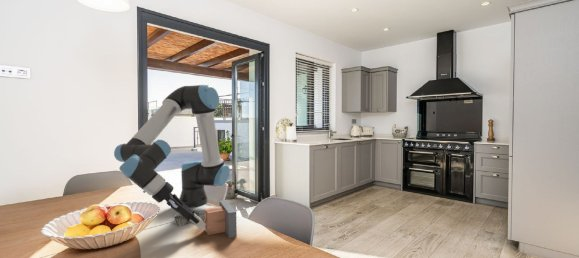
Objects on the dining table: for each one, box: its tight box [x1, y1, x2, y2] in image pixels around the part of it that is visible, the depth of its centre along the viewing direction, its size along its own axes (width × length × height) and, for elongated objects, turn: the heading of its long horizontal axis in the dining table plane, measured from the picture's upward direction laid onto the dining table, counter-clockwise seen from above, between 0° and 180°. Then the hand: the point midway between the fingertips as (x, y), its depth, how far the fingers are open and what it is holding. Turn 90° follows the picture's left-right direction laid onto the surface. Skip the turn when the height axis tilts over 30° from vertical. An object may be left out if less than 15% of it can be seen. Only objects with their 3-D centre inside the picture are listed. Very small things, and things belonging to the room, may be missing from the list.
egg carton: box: [172, 208, 202, 226], centre depth 125 cm, size 11×8×4 cm
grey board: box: [219, 199, 238, 239], centre depth 115 cm, size 18×3×10 cm, turn 25°
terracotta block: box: [204, 205, 226, 236], centre depth 113 cm, size 6×7×9 cm
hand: (203, 226), depth 110 cm, fingers closed
